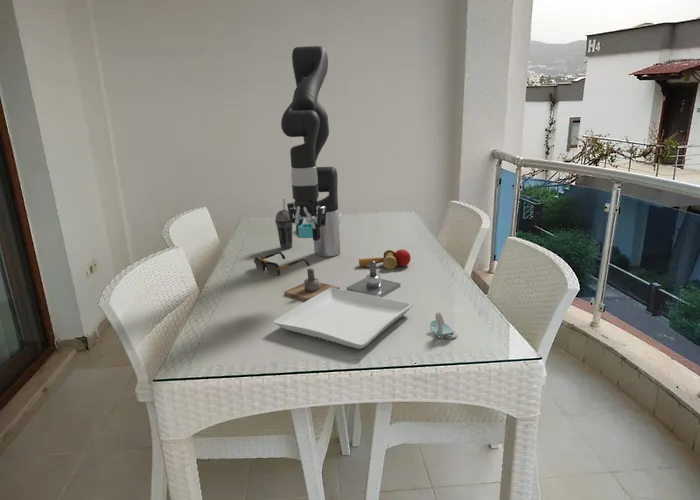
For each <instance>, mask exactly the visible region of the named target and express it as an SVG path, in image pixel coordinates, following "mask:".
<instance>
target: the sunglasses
mask: <svg viewBox="0 0 700 500" xmlns="http://www.w3.org/2000/svg"><path fill="white" fill-rule="evenodd" d="M276 255H280V256H281V258H282V259H283V260H285V259H286V257H285V254H283V253H282V252H281V251H279V252H274V253H271V254H267V255H265V256H261V257H254V259H253V263H254V264H255V267H256V269H257V270H260V272H261V271H262V272H265V271H267V272H268V273H269V275H274V276H280V275H281V270H283V269H286V268H289V267H291V266H293V265H296V264H298V263H301V262H302V261H304V263H305V265H306V266H307V267H310V266H311V265H310V262H309V261H308V260H307V258H306V259H305V258H301V259H298V260H295V261H292V262H289V263H287V264H284V265H282V266H280V265H279V264H278V263H277V262H272V261H268V260H266V259H269V258H272V257H273V256H276Z"/></svg>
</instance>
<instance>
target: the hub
mask: <svg viewBox="0 0 700 500" xmlns="http://www.w3.org/2000/svg"><path fill="white" fill-rule="evenodd" d="M400 287H401V282H398V281H397V282H396V281H393V280H388V279H384V278H381V274H377V264H376V262H375V261H371V262H370V265H369V274H367V275H366V277H365V278H363V279H361V280H359V281H357V282H355V283H353V284H351V285H349V286H347V287H346V290H347V291H353V292H359V293H364V294H369V295H374V296H378V297H384V296H386V295H387V294H390V293H391V292H393V291H395V290H396V289H398V288H400Z"/></svg>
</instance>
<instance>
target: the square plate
mask: <svg viewBox="0 0 700 500" xmlns="http://www.w3.org/2000/svg"><path fill="white" fill-rule="evenodd" d="M412 308H413V304H412V303H409V302H404V301H400V300H395V299H391V298H386V297H384V296H382V297H378V296H374V295H369V294H364V293H359V292H353V291H347V289H341V288H339V289H336V288H329V289H327V290H325V291H324V292H322V293H320V294H318V295H316V296H314V297H313V298H311V299H309V300H307V301H304V302H302V303H300V304H299V305H297V306H296V307H294V308H292V309H291V310H288V311H287V312H286V313H284V314H283V315H281V316H279V317H277V318H275V319H274V320H273V321H272V323H273V324H275V325H276V326H278V327H280V328H282V329H284V330H287V331H290V332H295V333H299V334H302V335H305V334H306V336H309V335H310V336H309V337H313V336H314V337H313V338H316V337H318V338H317V339H320V338H322V339H321V340H324V339H325V340H324V341H328V340H329V341H328V342H331V341H332V343H335V342H336V343H335V344H340V345H341V346H346V347H350V348H353V349H360V350H361V349H363V348H364V347H366V346H368V345H369V344H370V343H371V342H372V341H373V340H374V339H375V338H377V337H378V336H379V335H380V334H381V333H382V332H383V331H385V330H386V329H387V328H389V327H390V326H391V325H393V324H395V323H396V322H397V321H398V320H399V319H401V318H402V317H403V316H404V315H405V314H406V313H407V312H409V310H410V309H412Z"/></svg>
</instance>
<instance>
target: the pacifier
mask: <svg viewBox="0 0 700 500" xmlns="http://www.w3.org/2000/svg"><path fill="white" fill-rule="evenodd" d="M434 318H435V320H432V321H431V322H430V323H429V329H430V330H431V332H433V333H434V335H435V336H436V337H438V336H440V337H445V338H444V339H452V338H453V339H455V338H457V337H458V333H457V331H456V330H455V329H454V328H452V327H450V326H449V325H448V324H447V323H445V322H444V318H443V315H442V313H441V312H440V311H437V312H436V313H435V317H434ZM451 334H452V335H451ZM440 337H439V338H440ZM453 339H452V340H453Z"/></svg>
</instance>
